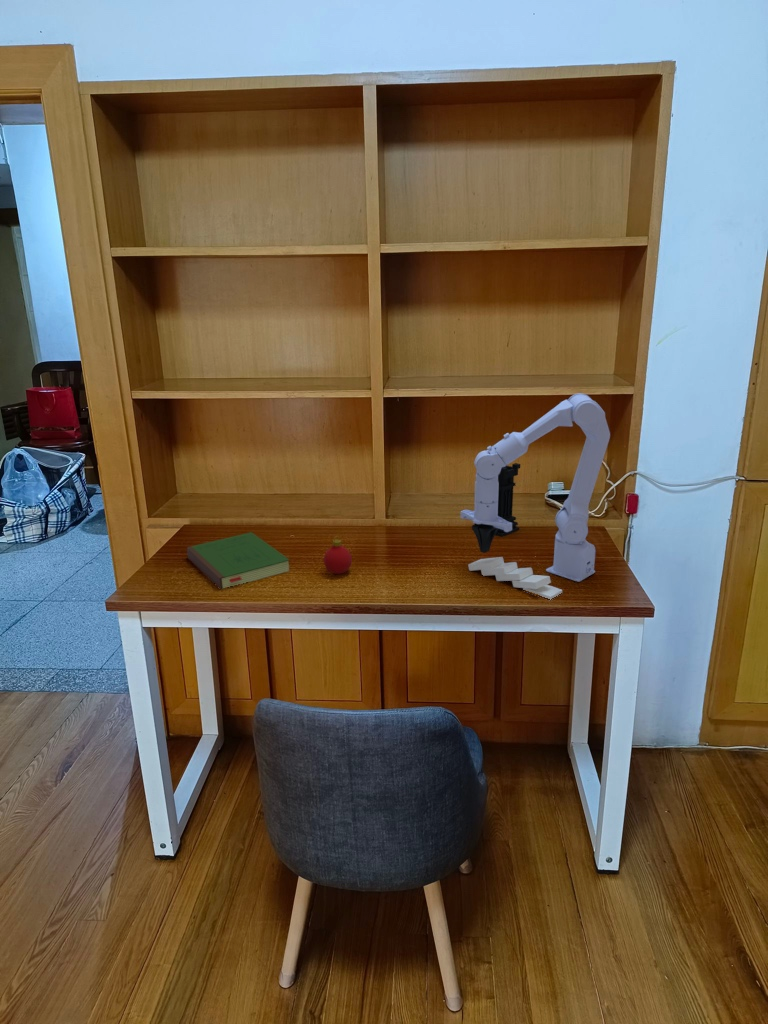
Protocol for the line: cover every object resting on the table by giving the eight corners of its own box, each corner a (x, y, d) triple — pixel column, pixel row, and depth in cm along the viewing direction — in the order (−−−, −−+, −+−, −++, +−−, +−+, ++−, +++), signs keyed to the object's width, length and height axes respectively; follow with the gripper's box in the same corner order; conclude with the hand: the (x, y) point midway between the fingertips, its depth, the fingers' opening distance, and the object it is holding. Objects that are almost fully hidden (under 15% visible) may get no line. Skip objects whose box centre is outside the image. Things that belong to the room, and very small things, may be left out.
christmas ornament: (346, 565, 179) (344, 529, 175) (356, 575, 173) (355, 538, 169) (320, 570, 176) (318, 534, 173) (330, 580, 170) (328, 543, 167)
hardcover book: (188, 560, 185) (186, 547, 184) (252, 544, 195) (251, 532, 194) (222, 593, 166) (220, 579, 164) (291, 573, 175) (290, 560, 174)
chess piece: (480, 529, 200) (482, 464, 194) (497, 523, 205) (500, 458, 199) (501, 537, 195) (504, 469, 188) (519, 529, 200) (522, 464, 193)
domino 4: (527, 580, 166) (550, 582, 160) (513, 587, 164) (536, 589, 158) (526, 574, 166) (549, 576, 160) (512, 580, 164) (535, 582, 157)
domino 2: (495, 570, 174) (517, 568, 168) (482, 575, 170) (505, 574, 165) (493, 564, 174) (516, 561, 168) (480, 569, 170) (503, 567, 165)
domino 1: (482, 565, 177) (504, 562, 171) (469, 570, 174) (491, 568, 168) (480, 559, 177) (502, 556, 171) (468, 564, 173) (489, 562, 168)
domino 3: (509, 575, 171) (533, 573, 165) (496, 581, 168) (520, 580, 162) (508, 568, 171) (531, 567, 165) (495, 574, 167) (518, 573, 162)
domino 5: (534, 586, 166) (561, 595, 161) (522, 593, 162) (550, 603, 157) (535, 580, 165) (562, 589, 160) (523, 587, 162) (550, 596, 157)
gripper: (452, 497, 169) (452, 548, 174) (500, 510, 159) (498, 563, 164) (471, 491, 174) (469, 540, 178) (518, 503, 164) (515, 555, 168)
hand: (484, 551), depth 171 cm, fingers closed
